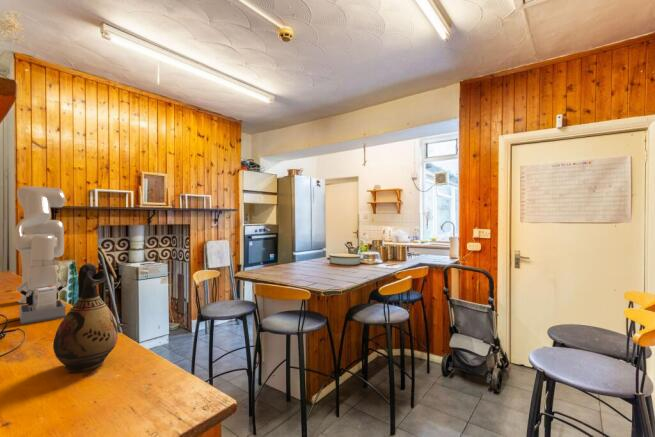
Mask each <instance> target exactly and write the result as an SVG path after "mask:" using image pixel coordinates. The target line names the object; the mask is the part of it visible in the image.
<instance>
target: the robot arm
mask: <svg viewBox="0 0 655 437" xmlns="http://www.w3.org/2000/svg"><path fill="white" fill-rule="evenodd" d="M16 196H17V200H18V202H19V204H20V206H21V208H22V210H23V218H22V219H21V220H20V221H19V222H18V224H17V225H16V226H15V228H14V232H13V233H14V234H13V235H14V239H13V240H14V247H15V249H16V250H17V251H18V252H20V254H19V255H20V259H21V284H20V285H18V286H17V287H15V288H16V290H17V291H18V292H19V293H20V294H21V298H20V299H18V300H17V303H18V304H25V305H29V306H30V305H31V296H30V294H31V293H32V292H33V291H34V290H35V289H36V288H43V287H50V286H55V287H57V298H56V300H59V293H60V291H63V289H64V287H65V286H66V285H67V284H68V283H67V282H66V281H65V280H62V279H60V278H59V277H58V270H57V266H56V264H57V263H59V259H55V258H59V257H62V256H63V255H64V252H65V227H64V223H63V222H62V221H61V220H58V219H52V210H51V208H62V207H64V206H65V205H66V196H65V193H64V191H63V190H62V189H61V188H59V187H58V188H57V187H45V186H44V187H43V186H21V187H19V188H17V191H16ZM23 233H24V234H23ZM59 283H60V284H61V285H60V286H58V284H59Z"/></svg>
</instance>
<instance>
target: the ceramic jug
mask: <svg viewBox="0 0 655 437" xmlns="http://www.w3.org/2000/svg"><path fill="white" fill-rule="evenodd" d="M77 275H78V276H77V286H78V287H77V288H78V290H77V291H78V294H77V296H78V300H77V301H76V302H74V304H73V306H72V307H71V308H70V309H69V310H68V311H67V313H65V317H64V318H62V320H61V322H60V323H59V325H58V327H57V329H56V333H55V335H54V337H53V338H54V339H53V344H52V348H53V354H54V355H55V357H56V358H57V360H58V361H59V362H60V363H61V364H62V365H63V366H64V368H65V371H66V372H67V373H69V374H75V373H85V372H88V371H93V370H94V369H95V368H96V369H97V368H99V367H101V366H102V365H104V362H105V360H106V358H107V357H108V356H109V354H111V352H112V351H113V350H114V349H115V347H116V345H117V343H118V340H119V339H118V338H119V329H118V324H117V321H116V318H115V315H114V314H113V312H112V311H111V309H110V308H109V306H108V305H107V304H106V303H105V301H103V299H102V298H101V296H100V294H98V287H97V286H98V285H100V284H102V283H104V282H105V281H106V279H107V278H106V277H107V274H106V273H105V271H104V270H99V271H97V268H96V266H95V264H92V263H90V262H89V263H85V264H82V265H81V266H80V268H79V270H78V274H77Z"/></svg>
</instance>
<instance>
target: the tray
mask: <svg viewBox="0 0 655 437" xmlns="http://www.w3.org/2000/svg"><path fill="white" fill-rule="evenodd" d="M18 309H19V310H18V311H19V316H18V317H19V322H20V326H25V325H29V324H35V323H41V322H47V321H54V320H59V319H63V318H64V317H65V316H66V305H65V304H64V302H63V301H62V300H61V299H58V300H56V307H55V308H48V309H42V310H35V311H29V305H28V304H21V305H19V308H18Z"/></svg>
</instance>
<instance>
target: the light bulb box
mask: <svg viewBox="0 0 655 437" xmlns="http://www.w3.org/2000/svg"><path fill="white" fill-rule="evenodd" d="M57 288H58V286H57V287H55V286H50V287H43V288H36V289H35V290H34V291H33V292H32V293H31V294H30V296H31V305H30V306H29V311H35V310H42V309H48V308H55V307H56V298H57Z"/></svg>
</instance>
